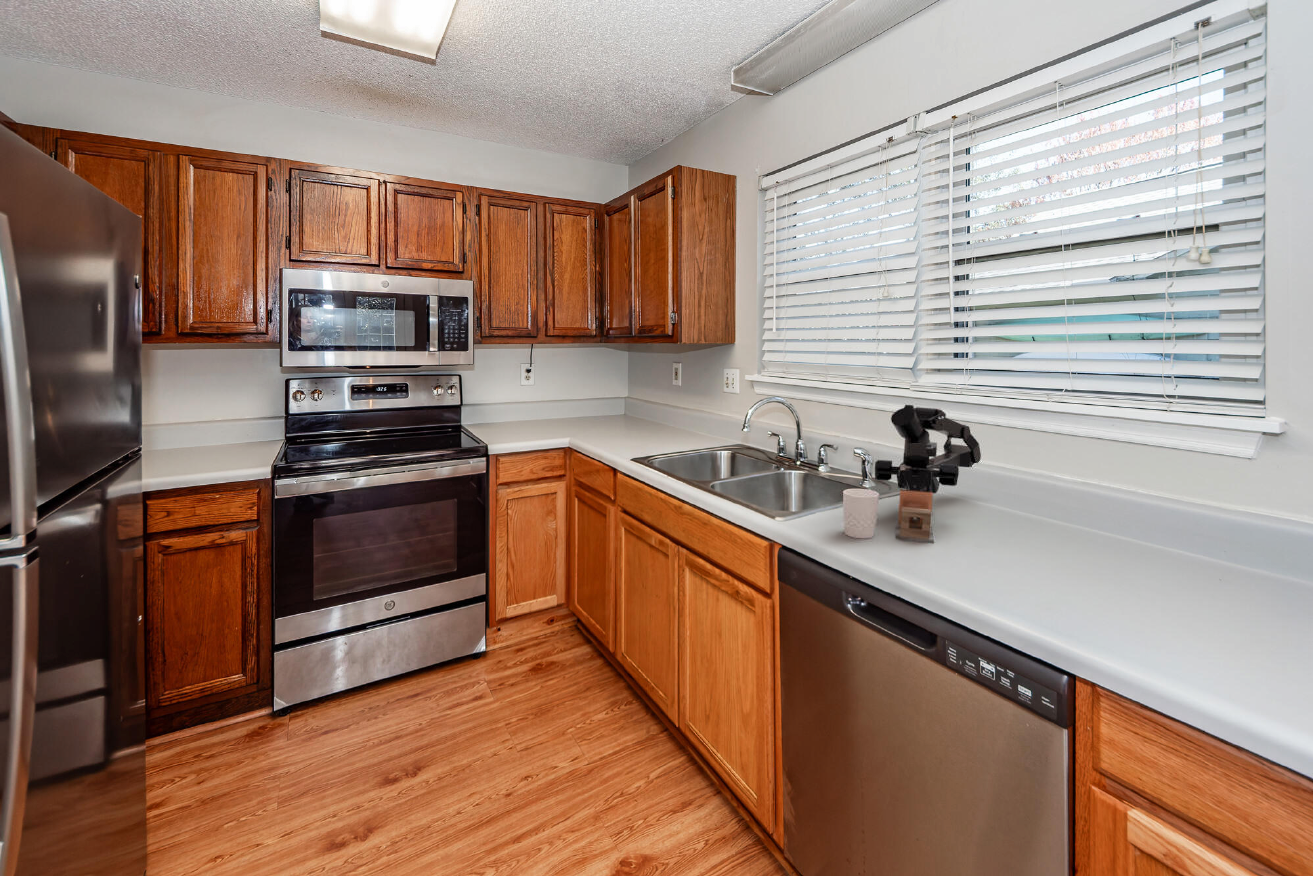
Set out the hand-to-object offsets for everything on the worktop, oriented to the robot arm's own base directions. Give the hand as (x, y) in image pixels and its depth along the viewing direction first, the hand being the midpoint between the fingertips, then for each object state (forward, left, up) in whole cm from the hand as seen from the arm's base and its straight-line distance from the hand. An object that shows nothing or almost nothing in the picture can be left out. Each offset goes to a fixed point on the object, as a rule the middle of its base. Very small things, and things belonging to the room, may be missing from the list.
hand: (913, 501), depth 139 cm
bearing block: (+4, 0, -7) cm, 8 cm away
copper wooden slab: (+4, 0, -6) cm, 7 cm away
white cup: (+9, -12, -7) cm, 16 cm away
